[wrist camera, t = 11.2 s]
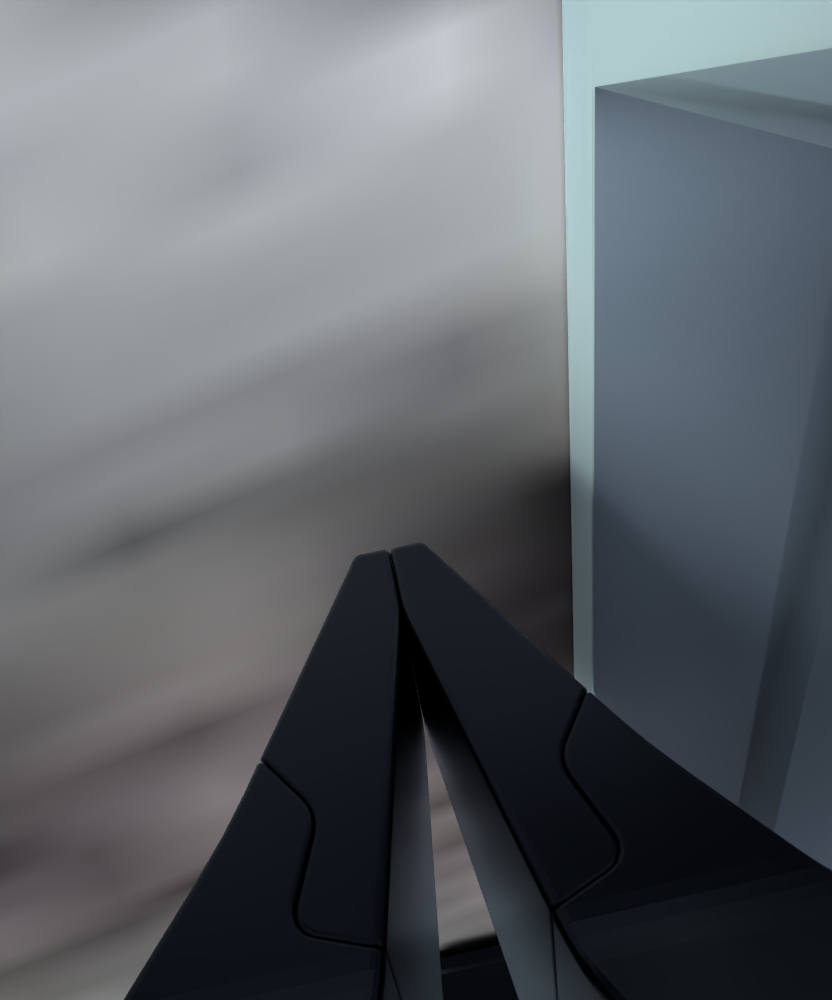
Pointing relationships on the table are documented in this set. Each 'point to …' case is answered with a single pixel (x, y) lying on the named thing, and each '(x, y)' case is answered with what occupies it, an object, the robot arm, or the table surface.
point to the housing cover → (718, 429)
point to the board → (587, 64)
